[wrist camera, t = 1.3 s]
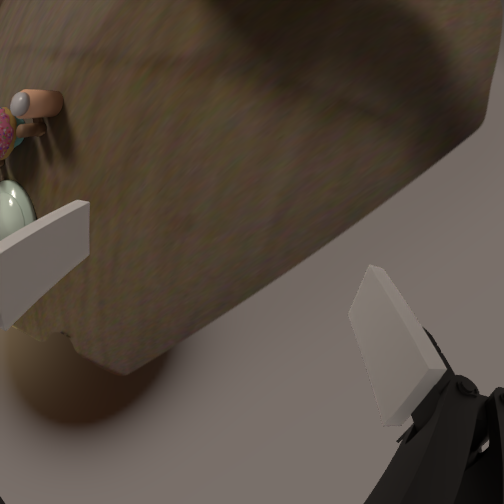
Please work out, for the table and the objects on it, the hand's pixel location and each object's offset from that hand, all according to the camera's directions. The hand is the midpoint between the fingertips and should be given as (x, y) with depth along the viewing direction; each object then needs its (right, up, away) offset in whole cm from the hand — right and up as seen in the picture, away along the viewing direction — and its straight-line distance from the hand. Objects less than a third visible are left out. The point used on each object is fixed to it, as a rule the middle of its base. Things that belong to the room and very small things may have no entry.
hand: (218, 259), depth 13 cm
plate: (-41, +6, +26) cm, 49 cm away
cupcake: (-36, +20, +20) cm, 46 cm away
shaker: (-27, +22, +19) cm, 40 cm away
